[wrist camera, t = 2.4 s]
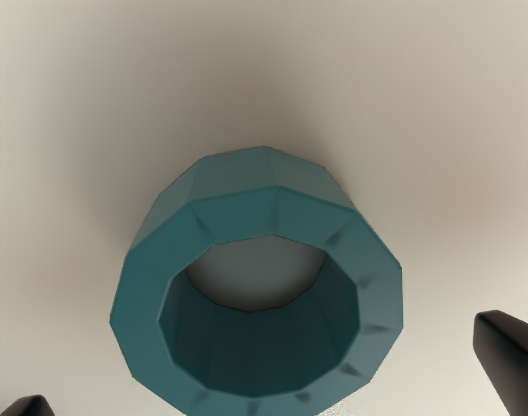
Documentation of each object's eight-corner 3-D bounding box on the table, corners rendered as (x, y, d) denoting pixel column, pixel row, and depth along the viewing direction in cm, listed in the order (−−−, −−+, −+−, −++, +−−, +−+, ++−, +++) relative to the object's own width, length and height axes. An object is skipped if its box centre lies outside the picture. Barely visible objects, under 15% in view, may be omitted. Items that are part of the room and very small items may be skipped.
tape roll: (178, 350, 13) (160, 445, 10) (117, 172, 11) (66, 224, 7) (364, 316, 13) (406, 399, 10) (350, 128, 11) (400, 162, 7)
